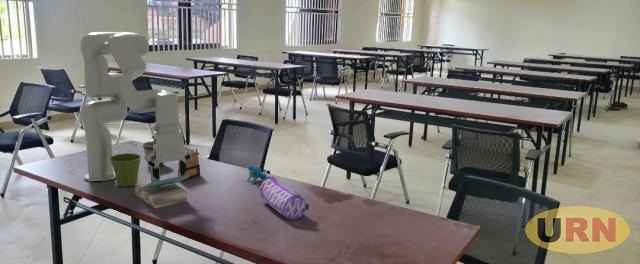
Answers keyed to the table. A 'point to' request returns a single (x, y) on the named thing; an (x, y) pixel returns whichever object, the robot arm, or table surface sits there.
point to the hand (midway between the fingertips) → (169, 175)
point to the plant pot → (126, 168)
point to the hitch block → (161, 194)
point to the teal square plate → (164, 182)
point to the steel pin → (152, 175)
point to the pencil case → (283, 198)
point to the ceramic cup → (147, 149)
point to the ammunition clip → (191, 166)
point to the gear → (256, 174)
